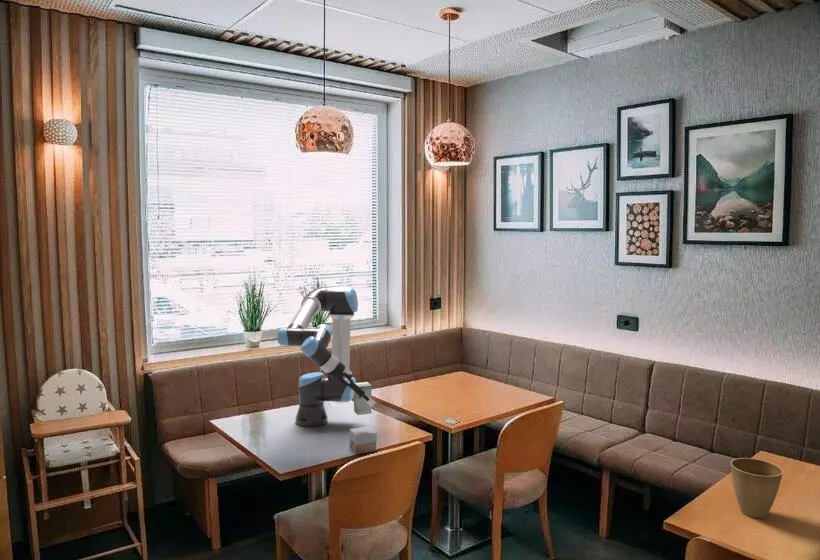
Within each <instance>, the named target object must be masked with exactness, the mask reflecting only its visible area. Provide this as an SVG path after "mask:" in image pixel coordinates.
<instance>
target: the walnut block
mask: <svg viewBox="0 0 820 560" xmlns="http://www.w3.org/2000/svg"><path fill="white" fill-rule="evenodd" d="M349 448H350V449H351V448H352V449H351V450H352V451H353V453H354V452H355V453H358V454H364V453H373V452H374V453H375V452H377V442H375V443H368V444H361V445H356V444H355V443H354V442H353V441H352V440H351V439H350V438H349ZM355 453H354V454H355Z"/></svg>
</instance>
